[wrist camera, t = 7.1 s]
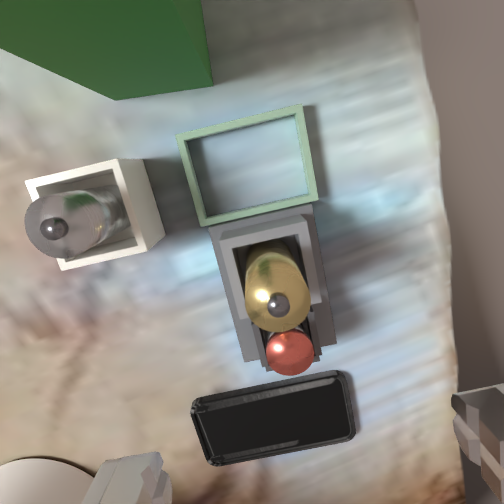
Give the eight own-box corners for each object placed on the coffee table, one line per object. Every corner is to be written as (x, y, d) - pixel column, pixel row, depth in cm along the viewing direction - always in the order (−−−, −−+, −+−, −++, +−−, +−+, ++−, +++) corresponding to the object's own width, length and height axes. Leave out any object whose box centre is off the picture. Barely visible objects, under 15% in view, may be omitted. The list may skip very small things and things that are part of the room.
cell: (296, 276, 26) (318, 330, 17) (252, 285, 26) (253, 343, 18) (287, 232, 25) (306, 268, 17) (241, 243, 25) (237, 283, 17)
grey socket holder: (331, 331, 29) (347, 364, 25) (245, 349, 30) (243, 385, 25) (307, 201, 26) (320, 210, 21) (211, 223, 27) (202, 237, 22)
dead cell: (144, 224, 26) (94, 254, 18) (101, 234, 26) (33, 268, 18) (129, 179, 25) (70, 188, 17) (85, 190, 25) (5, 204, 17)
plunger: (309, 345, 27) (318, 370, 23) (269, 353, 27) (272, 379, 24) (302, 308, 26) (309, 329, 23) (260, 317, 26) (261, 339, 23)
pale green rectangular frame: (315, 198, 26) (318, 199, 25) (202, 224, 27) (200, 226, 25) (299, 106, 24) (302, 103, 23) (178, 135, 25) (175, 134, 24)
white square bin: (165, 235, 27) (147, 251, 22) (94, 251, 27) (61, 270, 22) (142, 159, 25) (117, 158, 20) (67, 177, 26) (24, 181, 21)
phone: (187, 405, 30) (345, 373, 30) (189, 397, 32) (342, 365, 31) (209, 469, 33) (357, 440, 32) (210, 459, 34) (354, 431, 33)
